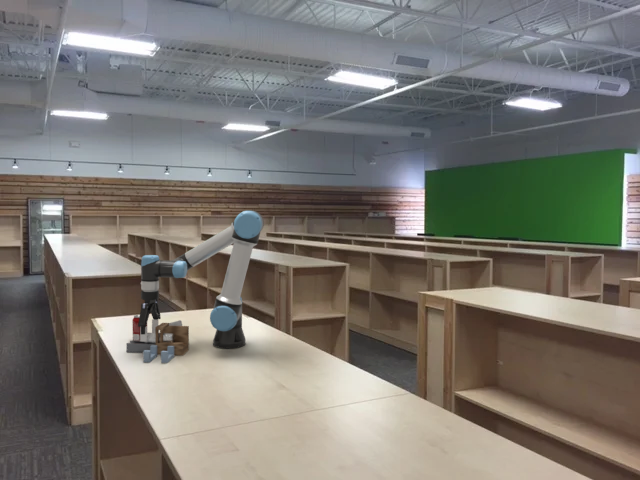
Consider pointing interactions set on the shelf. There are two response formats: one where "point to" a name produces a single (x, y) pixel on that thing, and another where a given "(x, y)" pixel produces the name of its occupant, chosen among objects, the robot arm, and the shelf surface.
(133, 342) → the rail
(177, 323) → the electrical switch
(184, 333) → the open wooden crate
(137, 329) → the soda can
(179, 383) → the shelf surface
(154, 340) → the axle
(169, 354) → the cradle block
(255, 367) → the shelf surface
